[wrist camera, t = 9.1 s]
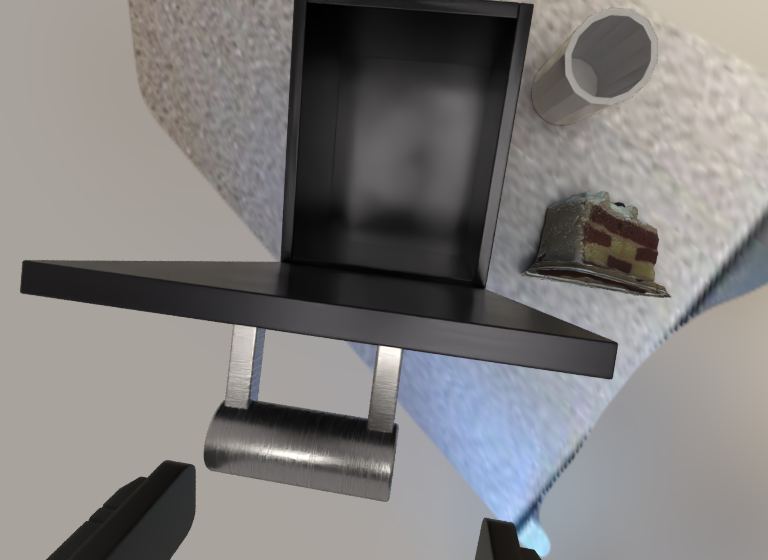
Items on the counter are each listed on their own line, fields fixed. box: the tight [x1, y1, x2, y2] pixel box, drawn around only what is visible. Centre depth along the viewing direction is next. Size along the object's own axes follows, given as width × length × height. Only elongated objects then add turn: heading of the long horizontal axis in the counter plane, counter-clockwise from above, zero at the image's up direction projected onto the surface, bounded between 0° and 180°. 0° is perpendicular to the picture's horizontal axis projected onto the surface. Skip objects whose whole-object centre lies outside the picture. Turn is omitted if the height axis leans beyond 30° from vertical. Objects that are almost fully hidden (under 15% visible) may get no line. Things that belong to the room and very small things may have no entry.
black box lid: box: [20, 260, 618, 502], centre depth 18 cm, size 17×14×5 cm
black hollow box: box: [281, 0, 534, 289], centre depth 30 cm, size 17×14×10 cm
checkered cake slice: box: [522, 191, 672, 298], centre depth 33 cm, size 10×7×12 cm
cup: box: [532, 8, 658, 125], centre depth 28 cm, size 5×5×8 cm
